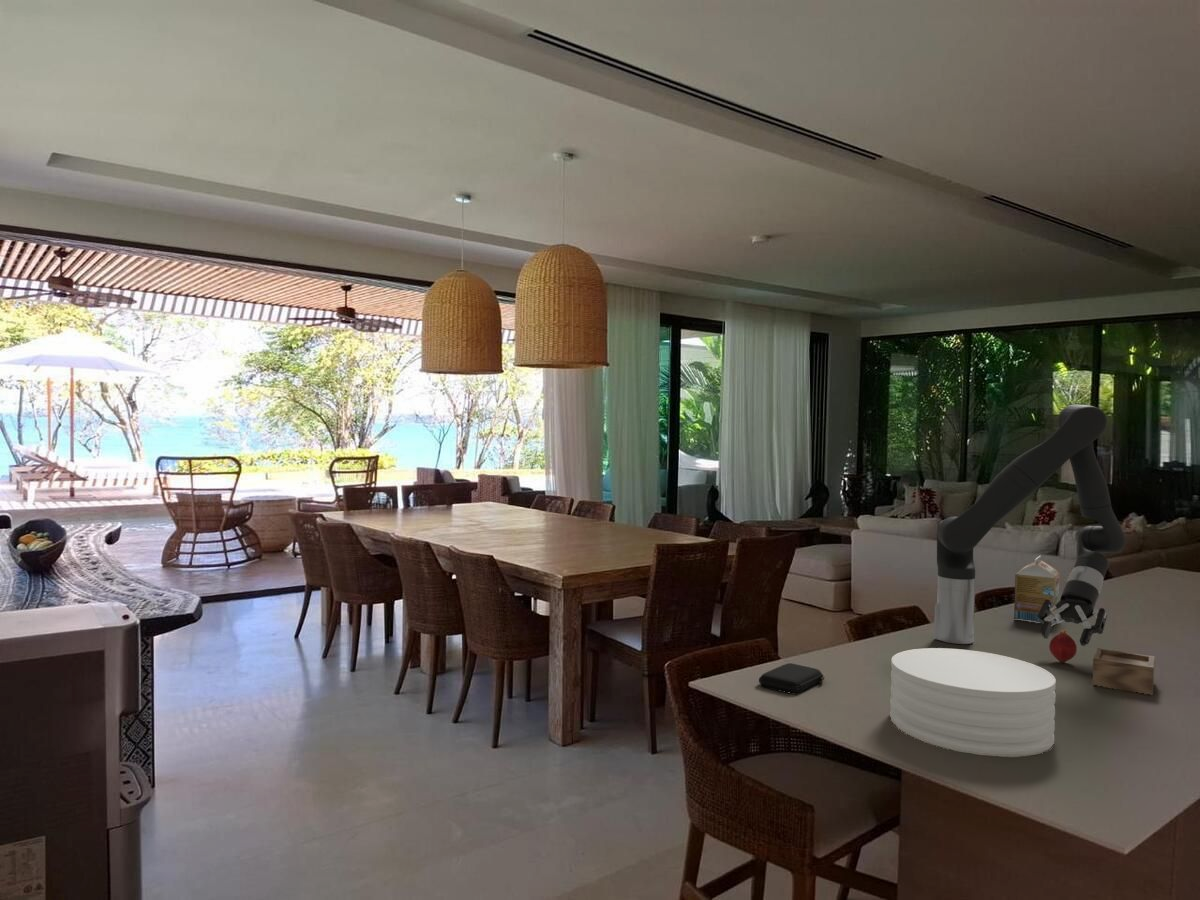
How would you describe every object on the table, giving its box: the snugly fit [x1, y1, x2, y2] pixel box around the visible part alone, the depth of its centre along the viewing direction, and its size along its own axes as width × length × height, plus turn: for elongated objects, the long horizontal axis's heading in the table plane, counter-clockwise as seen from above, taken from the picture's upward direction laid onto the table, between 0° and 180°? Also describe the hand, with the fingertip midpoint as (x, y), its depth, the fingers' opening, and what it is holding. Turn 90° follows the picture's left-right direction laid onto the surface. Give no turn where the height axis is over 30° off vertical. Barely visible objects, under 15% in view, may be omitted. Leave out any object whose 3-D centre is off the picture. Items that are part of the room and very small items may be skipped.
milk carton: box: [1013, 555, 1061, 622], centre depth 242 cm, size 11×11×19 cm
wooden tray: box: [1092, 647, 1156, 696], centre depth 179 cm, size 11×11×6 cm
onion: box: [1048, 629, 1078, 664], centre depth 195 cm, size 6×6×8 cm
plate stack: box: [889, 647, 1057, 754], centre depth 150 cm, size 28×28×12 cm
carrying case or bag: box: [758, 662, 825, 694], centre depth 175 cm, size 11×3×15 cm
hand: (1063, 640), depth 195 cm, fingers open, 8 cm apart
